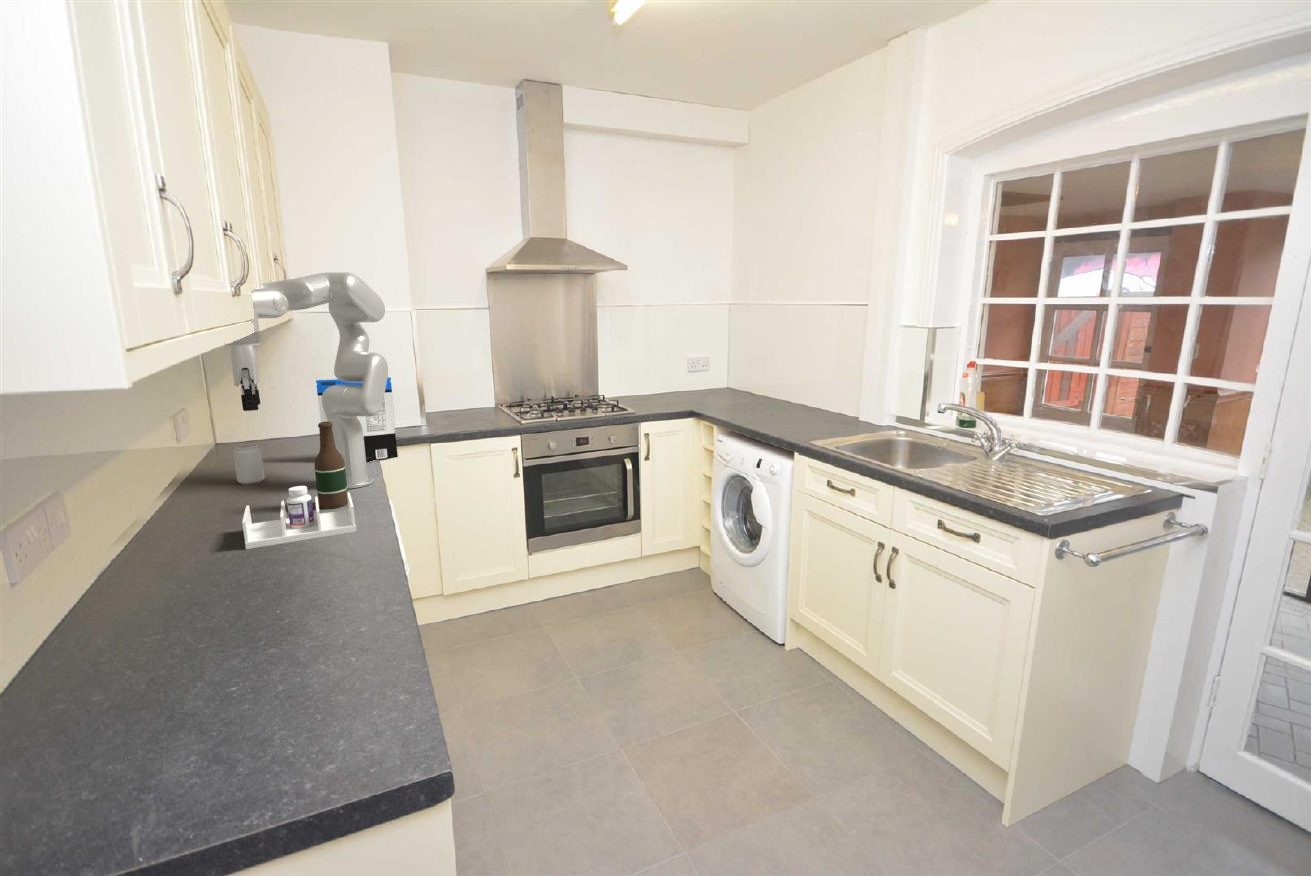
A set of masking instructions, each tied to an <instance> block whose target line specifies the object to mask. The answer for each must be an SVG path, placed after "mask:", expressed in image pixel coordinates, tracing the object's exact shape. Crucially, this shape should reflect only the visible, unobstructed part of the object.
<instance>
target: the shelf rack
mask: <svg viewBox="0 0 1311 876" xmlns="http://www.w3.org/2000/svg"><path fill="white" fill-rule="evenodd" d="M347 497H348V503H347V505H348V509H344V510H338V511H331V512H323V513H322V512H321V513H320V506H319V501H318V495H317V496H315V497H314V499H315V500H314V501H315V509H316V514H314V524H313V525H311V526H308V527H304V528H292V527H291V526H290V521H289V517H288V518H287V512H286V505H285V500H281V503H280V516H279V518H280V519H274V520H267V521H260V522H254V523H252V515H251V508H250V505H246V506H245V510H244V513H243V517H242V521H241V524H242V530H243V536H244V545H245V549H246V550H250V549H255V548H263V547H268V546H276V545H281V544H288V543H295V542H301V541H307V540H313V539H318V538H319V539H320V538H325V537H326V538H327V537H331V536H337V535H345V534H348V533H355V532H357V524H356V518H355V517H356V515H355V508H354V503H353V502H354V501H353V500H352V496H351V493H350V491H348V492H347ZM344 533H345V534H344Z"/></svg>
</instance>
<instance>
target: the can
mask: <svg viewBox="0 0 1311 876" xmlns="http://www.w3.org/2000/svg"><path fill="white" fill-rule="evenodd" d="M232 454H233V461H234V468H235V469H234V470H235V474H236V475H235V476H236V481H237V482H238V483H240V484H241V485H254V484H258V483H261V482H262V481H263V480H264V479H265V471H264V464H263V456H262V449H261V448H260V447H259V444H257V443H256V444H255V443H247V444H246V443H245V444H241V445H236V446H235V447H234V450H233V452H232Z"/></svg>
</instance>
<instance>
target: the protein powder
mask: <svg viewBox="0 0 1311 876" xmlns="http://www.w3.org/2000/svg"><path fill="white" fill-rule="evenodd" d="M315 382H316V393H317V394H316V395H317V401H318V402H317V403H318V409H319V417H320V422H327V418H326V414H325V411H324V409H323V405H322V394H323V392H324V391H325V390H326V389H327V388H329V387H331V386H334V385H360V386H362V385H363V383H353V382H343V381H340V380H339V379H337V378H336V379H316V380H315ZM393 398H394V397H393V388H392V381H391V377H388V378H387V384H386V389H385V394H384V399H383V404H382V407H381V410H380V411H379V413H378V414H376V415H374V416H356V417H357V418H358V420H359V421H360V423H361V425H362V428H363V436H364V446H365V455H366V463H371V462H370V461H373V460H379V461H378V462H380V461H387V460H390V459H395V458H398V457H399V454H398V444H397V438H396V436H397V435H396V425H395V411H394V399H393Z"/></svg>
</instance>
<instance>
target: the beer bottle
mask: <svg viewBox="0 0 1311 876" xmlns="http://www.w3.org/2000/svg"><path fill="white" fill-rule="evenodd" d="M332 426H333V424H332V422H321V421H320V422H318V425H317V428H318V429H319V452H318V454H317V456H316V458H315V461H314V475H315V482H316V493H317V496H318V504H319V509H324V510H330V509H339V508H343V507H346V506H347V505H348V497H347V492H349V489H348V488H347V478H346V469H345V462H344V459H343V457H342V455H341V454H340V453H339V452H338V450H337V449H336V446H335V441H334V436H333V430H332Z"/></svg>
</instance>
